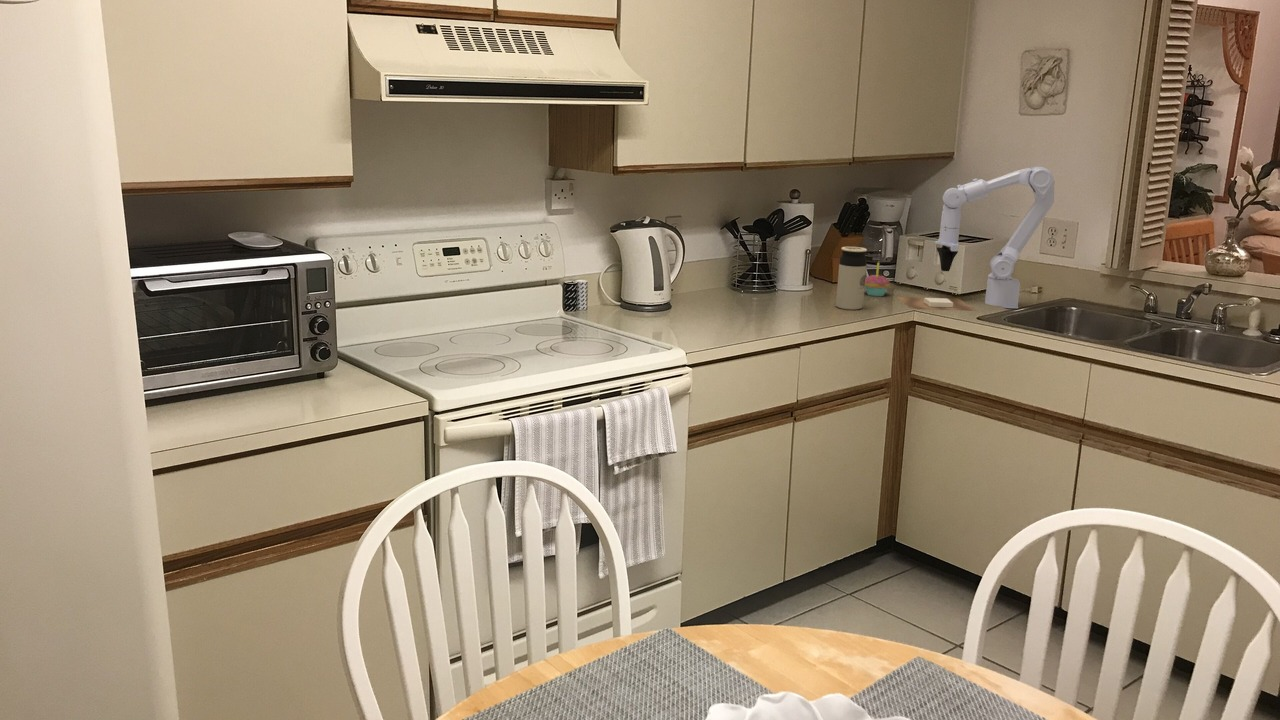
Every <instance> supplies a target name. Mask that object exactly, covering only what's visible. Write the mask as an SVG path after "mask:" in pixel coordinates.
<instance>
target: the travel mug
mask: <svg viewBox="0 0 1280 720" xmlns="http://www.w3.org/2000/svg"><path fill="white" fill-rule="evenodd" d="M841 250H842V253H841V256H840V257H839V263H838V264H839V265H838V273H837V274H838V275H837V287H836V298H835V299H836V300H835V306H836V307H837V308H839V309H841V310H847V311H848V310H849V311H850V310H851V311H856V310H861V309H862V308H864V298H865V297H864V296H865V288H866V287H865V278H866V274H867V273H866V272H867V263H868V260H867V257H866V253H867V252H868V249H867V248H865V247H861V246H842V247H841Z"/></svg>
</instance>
